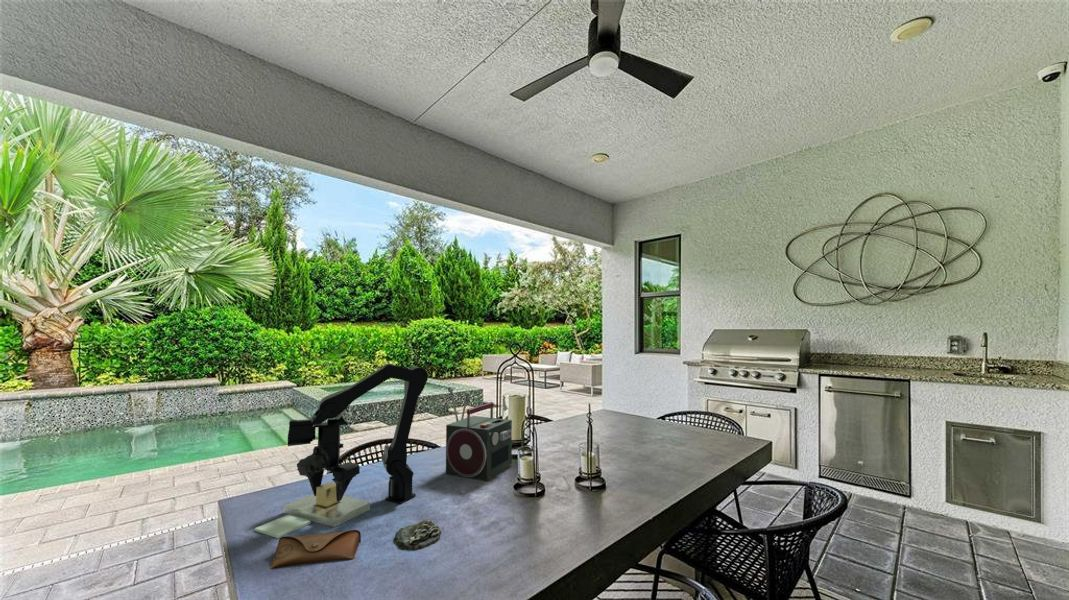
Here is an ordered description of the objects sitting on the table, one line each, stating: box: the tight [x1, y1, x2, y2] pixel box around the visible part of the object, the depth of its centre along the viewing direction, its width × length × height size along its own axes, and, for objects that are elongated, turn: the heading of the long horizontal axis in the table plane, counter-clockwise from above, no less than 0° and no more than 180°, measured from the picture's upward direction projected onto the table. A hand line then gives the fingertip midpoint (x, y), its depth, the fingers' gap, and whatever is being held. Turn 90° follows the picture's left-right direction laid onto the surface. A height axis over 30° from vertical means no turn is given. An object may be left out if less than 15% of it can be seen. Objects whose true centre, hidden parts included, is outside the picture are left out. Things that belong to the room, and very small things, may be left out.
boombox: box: [445, 386, 513, 482], centre depth 157 cm, size 18×21×30 cm
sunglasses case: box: [268, 529, 362, 570], centre depth 99 cm, size 18×7×7 cm
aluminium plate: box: [283, 493, 371, 528], centre depth 122 cm, size 20×12×2 cm, turn 64°
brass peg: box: [316, 482, 338, 509], centre depth 122 cm, size 4×4×7 cm
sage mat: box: [254, 514, 312, 539], centre depth 112 cm, size 9×9×1 cm
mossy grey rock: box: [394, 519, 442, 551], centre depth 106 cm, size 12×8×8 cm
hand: (327, 498), depth 122 cm, fingers open, 9 cm apart
